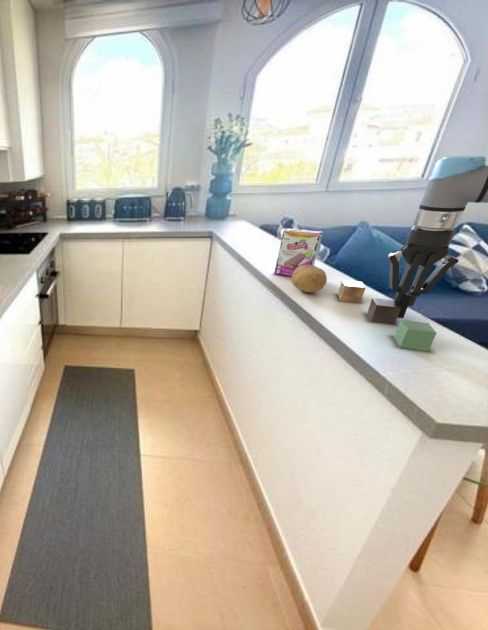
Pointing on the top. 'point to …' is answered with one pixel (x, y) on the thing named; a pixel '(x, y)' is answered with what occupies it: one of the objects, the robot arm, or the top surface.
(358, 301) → the oak block
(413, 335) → the sage block
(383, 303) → the walnut block
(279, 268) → the candy bar box
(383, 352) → the top surface
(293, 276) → the potato
